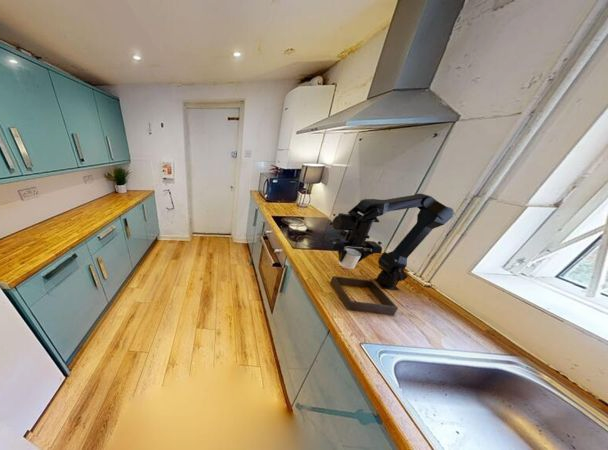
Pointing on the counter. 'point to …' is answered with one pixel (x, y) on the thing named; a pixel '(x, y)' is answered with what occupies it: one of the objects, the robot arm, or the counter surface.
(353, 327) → the counter surface
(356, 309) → the brown square frame
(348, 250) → the shot glass
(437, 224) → the robot arm
